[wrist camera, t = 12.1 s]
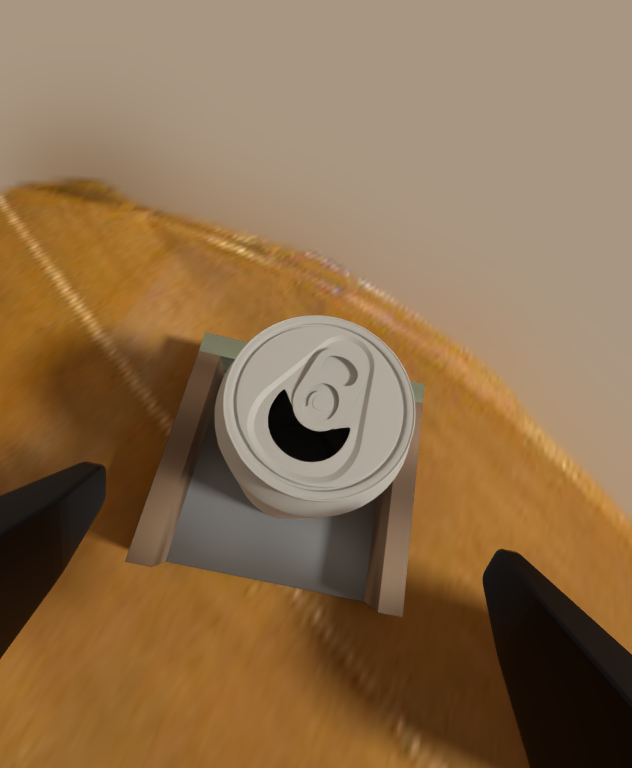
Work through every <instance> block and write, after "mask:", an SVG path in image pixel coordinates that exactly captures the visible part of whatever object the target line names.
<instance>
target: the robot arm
mask: <svg viewBox="0 0 632 768" xmlns="http://www.w3.org/2000/svg"><path fill="white" fill-rule="evenodd" d="M105 495H106V470H105V467H104V466H103V465H101V464H96V463H91V462H82V463H79V464H77V465H74V466H72V467H69V468H67V469H64V470H62V471H59V472H57V473H55V474H52V475H50V476H47V477H45V478H42V479H40V480H37V481H35V482H33V483H30V484H28V485H25V486H23V487H20V488H18V489H15V490H13V491H11V492H8V493H6V494H3V495H1V496H0V659H1V657H2V656H3V654H4V653H5V652H6V650H7V649H8V648H9V646H10V645H11V643H12V642H13V641H14V639H15V638H16V636H17V635H18V634H19V632H20V631H21V630H22V628H23V627H24V625H25V624H26V623H27V621H28V620H29V619H30V617H31V616H32V614H33V613H34V612H35V610H36V609H37V608H38V606H39V605H40V603H41V602H42V601H43V599H44V598H45V597H46V595H47V594H48V592H49V591H50V590H51V588H52V587H53V585H54V584H55V583H56V581H57V580H58V578H59V577H60V575H61V574H62V573H63V571H64V570H65V568H66V566H67V565H68V563H69V561H70V560H71V558H72V556H73V555H74V553H75V551H76V549H77V548H78V546H79V544H80V543H81V541H82V539H83V537H84V536H85V534H86V532H87V531H88V529H89V527H90V525H91V524H92V522H93V520H94V519H95V517H96V515H97V513H98V512H99V510H100V508H101V507H102V505H103V502H104V500H105ZM483 587H484V592H485V597H486V602H487V607H488V612H489V617H490V622H491V627H492V632H493V637H494V643H495V647H496V651H497V656H498V659H499V663H500V667H501V670H502V674H503V677H504V681H505V684H506V687H507V691H508V694H509V698H510V701H511V704H512V708H513V711H514V715H515V718H516V721H517V725H518V728H519V732H520V735H521V738H522V742H523V745H524V749H525V752H526V755H527V759H528V762H529V766H530V768H632V654H631V653H629V652H628V651H627V650H626V649H625V648H624V647H623V646H622V645H620V644H619V643H618V642H617V641H616V640H615V639H614V638H613V637H612V636H610V635H609V634H608V633H607V632H606V631H605V630H604V629H603V628H602V627H600V626H599V625H598V624H597V623H596V622H595V621H594V620H593V619H592V618H590V617H589V616H588V615H587V614H586V613H585V612H584V611H583V610H582V609H580V608H579V607H578V606H577V605H576V604H575V603H574V602H573V601H572V600H570V599H569V598H568V597H567V596H566V595H565V594H564V593H563V592H562V591H560V590H559V589H558V588H557V587H556V586H555V585H554V584H553V583H552V582H550V581H549V580H548V579H547V578H546V577H545V576H544V575H543V574H542V573H540V572H539V571H538V570H537V569H536V568H535V567H534V566H533V565H532V564H530V563H529V562H528V561H527V560H526V559H525V558H524V557H523V556H521V555H520V554H519V553H517V552H514V551H510V550H505V549H499V550H498V551H496V553H495V554H494V556H493V558H492V559H491V561H490V563H489V565H488V566H487V568H486V570H485V572H484V574H483Z"/></svg>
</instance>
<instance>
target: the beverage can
mask: <svg viewBox="0 0 632 768" xmlns="http://www.w3.org/2000/svg"><path fill="white" fill-rule="evenodd" d="M415 412H416V411H415V400H414V394H413V390H412V386H411V383H410V380H409V378H408V375H407V373H406V371H405V369H404V367H403V366H402V364H401V362H400V361H399V359H398V358H397V357H396V355H395V354H394V353H393V351H392V350H391V349H390V348H389V347H388V346H387V345H386V344H385V343H384V342H383V341H382V340H381V339H380V338H378V337H377V336H376V335H374V334H373V333H371V332H370V331H368V330H367V329H365V328H363V327H361V326H359V325H357V324H355V323H352V322H350V321H347V320H343V319H340V318H336V317H330V316H318V315H311V316H300V317H295V318H290V319H287V320H284V321H281V322H278V323H276V324H274V325H272V326H270V327H268V328H266V329H265V330H263V331H262V332H260V333H259V334H257V335H256V336H255V337H254V338H253V339H251V340H250V341H249V342H248V343H247V344H246V345H245V347H244V348H243V349H242V350H241V351H240V353H239V354H238V356H237V357H236V359H235V360H234V361H233V363H232V364H231V365H230V367H229V369H228V370H227V372H226V374H225V376H224V378H223V380H222V382H221V385H220V388H219V391H218V394H217V399H216V404H215V431H216V436H217V441H218V445H219V448H220V450H221V453H222V455H223V457H224V459H225V461H226V463H227V465H228V467H229V468H230V470H231V472H232V474H233V475H234V477H235V479H236V480H237V482H238V484H239V485H240V487H241V489H242V490H243V492H244V494H245V495H246V497H247V498H248V499H249V500H250V502H251V503H252V504H253V505H254V506H255V507H257V508H258V509H259V510H261V511H262V512H264V513H266V514H268V515H270V516H272V517H275V518H278V519H283V520H302V519H311V518H320V517H329V516H336V515H340V514H344V513H347V512H350V511H353V510H355V509H357V508H359V507H362V506H363V505H365V504H367V503H369V502H370V501H372V500H373V499H375V498H376V497H377V496H378V495H380V494H381V493H382V492H383V491H384V490H385V489H386V488H387V487H388V486H389V485H390V484H391V482H392V481H393V480H394V479H395V477H396V476H397V474H398V473H399V471H400V469H401V467H402V466H403V463H404V461H405V458H406V456H407V453H408V449H409V446H410V442H411V439H412V435H413V431H414V426H415Z"/></svg>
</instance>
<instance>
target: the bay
mask: <svg viewBox="0 0 632 768" xmlns="http://www.w3.org/2000/svg"><path fill="white" fill-rule="evenodd" d="M247 343H248V342H245V341H240V340H236V339H232V338H228V337H224V336H219V335H215V334H211V333H207V332H205V335H204V338H203V340H202V343H201V346H200V349H199V352H198V355H197V358H196V360H195V363H194V366H193V369H192V372H191V375H190V378H189V380H188V383H187V386H186V389H185V392H184V395H183V398H182V400H181V403H180V406H179V409H178V412H177V415H176V418H175V420H174V423H173V426H172V429H171V432H170V435H169V437H168V440H167V443H166V446H165V449H164V452H163V455H162V457H161V460H160V463H159V466H158V469H157V472H156V475H155V477H154V480H153V483H152V486H151V489H150V492H149V495H148V497H147V500H146V503H145V506H144V509H143V512H142V515H141V517H140V520H139V523H138V526H137V529H136V532H135V535H134V537H133V540H132V543H131V546H130V549H129V552H128V555H127V557H126V560H125V562H129V563H134V564H139V565H144V566H149V567H153V566H155V565H158V564H160V563H163V562H170V563H175V564H180V565H185V566H190V567H195V568H200V569H205V570H210V571H215V572H220V573H225V574H230V575H235V576H240V577H245V578H250V579H255V580H260V581H265V582H269V583H274V584H279V585H284V586H289V587H294V588H299V589H304V590H309V591H314V592H319V593H324V594H329V595H334V596H339V597H344V598H349V599H354V600H359V601H364V602H365V603H366V604H368V605H369V606H370V607H372V608H373V609H374V610H376V611H377V612H378V613H383V614H388V615H393V616H398V617H403V608H404V598H405V587H406V576H407V565H408V555H409V544H410V533H411V522H412V512H413V501H414V490H415V479H416V469H417V458H418V447H419V436H420V426H421V415H422V404H423V393H424V384H421V383H417V382H413V381H410V383H411V386H412V390H413V394H414V400H415V411H416V412H415V426H414V431H413V435H412V439H411V442H410V446H409V449H408V453H407V456H406V458H405V461H404V463H403V466H402V467H401V469H400V471H399V473H398V474H397V476H396V477H395V479H394V480H393V481H392V482H391V484H390V485H389V486H388V487H387V488H386V489H385V490H384V491H383V492H382V493H381V494H380V495H378V496H377V497H376V498H375V499H373V500H372V501H370V502H369V503H367V504H365V505H363V506H362V507H359V508H357V509H355V510H353V511H350V512H347V513H344V514H340V515H336V516H329V517H320V518H311V519H302V520H283V519H278V518H275V517H272V516H270V515H268V514H266V513H264V512H262V511H261V510H259V509H258V508H257V507H255V506H254V505H253V504H252V503H251V502H250V500H249V499H248V498H247V497H246V495H245V494H244V492H243V490H242V489H241V487H240V485H239V484H238V482H237V480H236V479H235V477H234V475H233V474H232V472H231V470H230V468H229V467H228V465H227V463H226V461H225V459H224V457H223V455H222V453H221V450H220V448H219V445H218V441H217V436H216V431H215V404H216V399H217V394H218V391H219V388H220V385H221V382H222V380H223V378H224V376H225V374H226V372H227V370H228V369H229V367H230V365H231V364H232V363H233V361H234V360H235V359H236V357H237V356H238V354H239V353H240V351H241V350H242V349H243V348H244V347H245V345H246V344H247Z"/></svg>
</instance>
